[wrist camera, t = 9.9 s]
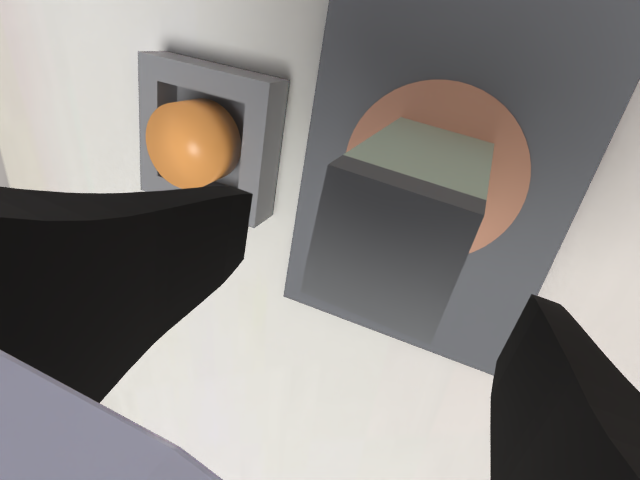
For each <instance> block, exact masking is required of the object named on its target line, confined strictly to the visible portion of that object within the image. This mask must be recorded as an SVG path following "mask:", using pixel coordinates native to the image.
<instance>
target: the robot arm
mask: <svg viewBox="0 0 640 480" xmlns="http://www.w3.org/2000/svg"><path fill="white" fill-rule="evenodd" d="M252 197H253V194H252V193H249V192H247V191H244V190H241V189H238V188H235V187H231V186H210V187H197V188H186V189H175V190H164V191H149V192H133V193H106V194H98V193H64V192H50V191H37V190H24V189H15V188H7V187H0V480H223V479H221V478H220V477H219V476H217V475H216V474H215V473H213V472H212V471H211V470H209V469H208V468H207V467H206V466H204V465H203V464H202V463H200V462H199V461H198V460H196V459H195V458H194V457H192V456H191V455H190V454H188V453H187V452H186V451H185V450H183V449H182V448H181V447H179V446H177V445H175V444H174V443H172V442H170V441H168V440H166V439H164V438H162V437H161V436H159V435H157V434H155V433H153V432H151V431H150V430H148V429H146V428H144V427H142V426H140V425H138V424H137V423H135V422H133V421H131V420H129V419H127V418H125V417H124V416H122V415H120V414H118V413H116V412H114V411H113V410H111V409H109V408H107V407H105V406H103V405H101V404H100V402H101V401H102V400H103V399H104V397H105V396H106V395H107V394H108V393H109V392H110V391H111V389H112V388H113V387H114V386H115V385H116V384H117V383H118V382H119V380H120V379H121V378H122V377H123V376H124V375H125V374H126V372H127V371H128V370H129V369H130V368H131V367H132V366H133V365H134V364H135V363H136V362H137V361H138V360H139V359H140V358H141V357H142V355H143V354H144V353H145V352H146V351H147V350H148V349H149V348H150V347H151V346H152V345H153V344H154V343H155V342H156V341H157V340H158V339H159V338H160V337H162V336H163V335H164V334H165V333H166V332H167V331H168V330H169V329H171V328H172V327H173V326H174V325H175V324H177V323H178V322H179V321H180V320H181V319H182V318H184V317H185V316H186V315H187V314H188V313H190V312H191V311H192V310H193V309H194V308H195V307H197V306H198V305H199V304H200V303H201V302H203V301H204V300H205V299H206V298H207V297H208V296H209V295H211V294H212V293H213V292H214V291H215V290H216V289H217V288H219V287H220V286H221V285H222V284H223V283H224V282H225V281H226V280H227V278H228V277H229V276H230V275H231V274H232V273H233V272H234V270H235V269H236V268H237V267H238V266H239V264H240V263H241V262H242V261H243V259H244V253H245V246H246V239H247V232H248V225H249V218H250V211H251V204H252ZM491 480H640V392H639V391H638V390H637V389H636V388H635V387H634V386H633V385H632V384H631V383H630V382H629V381H628V380H627V379H626V378H625V377H624V375H623V374H622V373H621V372H620V371H619V370H618V369H617V368H616V367H615V366H614V364H613V363H612V362H611V361H610V360H609V359H608V358H607V357H606V355H605V354H604V353H603V352H602V351H601V350H600V348H599V347H598V346H597V345H596V344H595V343H594V341H593V340H592V339H591V338H590V337H589V336H588V334H587V333H586V332H585V331H584V330H583V328H582V327H581V326H580V325H579V324H578V323H577V321H576V320H575V319H574V318H573V317H572V316H571V315H570V313H569V312H568V311H567V310H566V309H565V308H564V307H563V306H561V305H560V304H558V303H555V302H553V301H550V300H547V299H544V298H542V297H539V296H536V295H533V294H531V296H530V298H529V300H528V302H527V304H526V306H525V307H524V309H523V311H522V313H521V315H520V317H519V319H518V321H517V323H516V325H515V327H514V328H513V330H512V332H511V334H510V336H509V338H508V340H507V342H506V344H505V346H504V348H503V350H502V351H501V353H500V355H499V357H498V359H497V361H496V367H495V373H494V379H493V385H492V392H491Z"/></svg>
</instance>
